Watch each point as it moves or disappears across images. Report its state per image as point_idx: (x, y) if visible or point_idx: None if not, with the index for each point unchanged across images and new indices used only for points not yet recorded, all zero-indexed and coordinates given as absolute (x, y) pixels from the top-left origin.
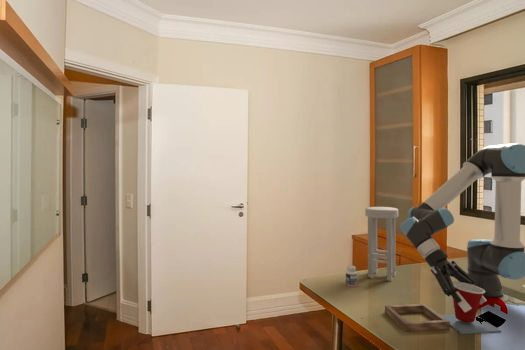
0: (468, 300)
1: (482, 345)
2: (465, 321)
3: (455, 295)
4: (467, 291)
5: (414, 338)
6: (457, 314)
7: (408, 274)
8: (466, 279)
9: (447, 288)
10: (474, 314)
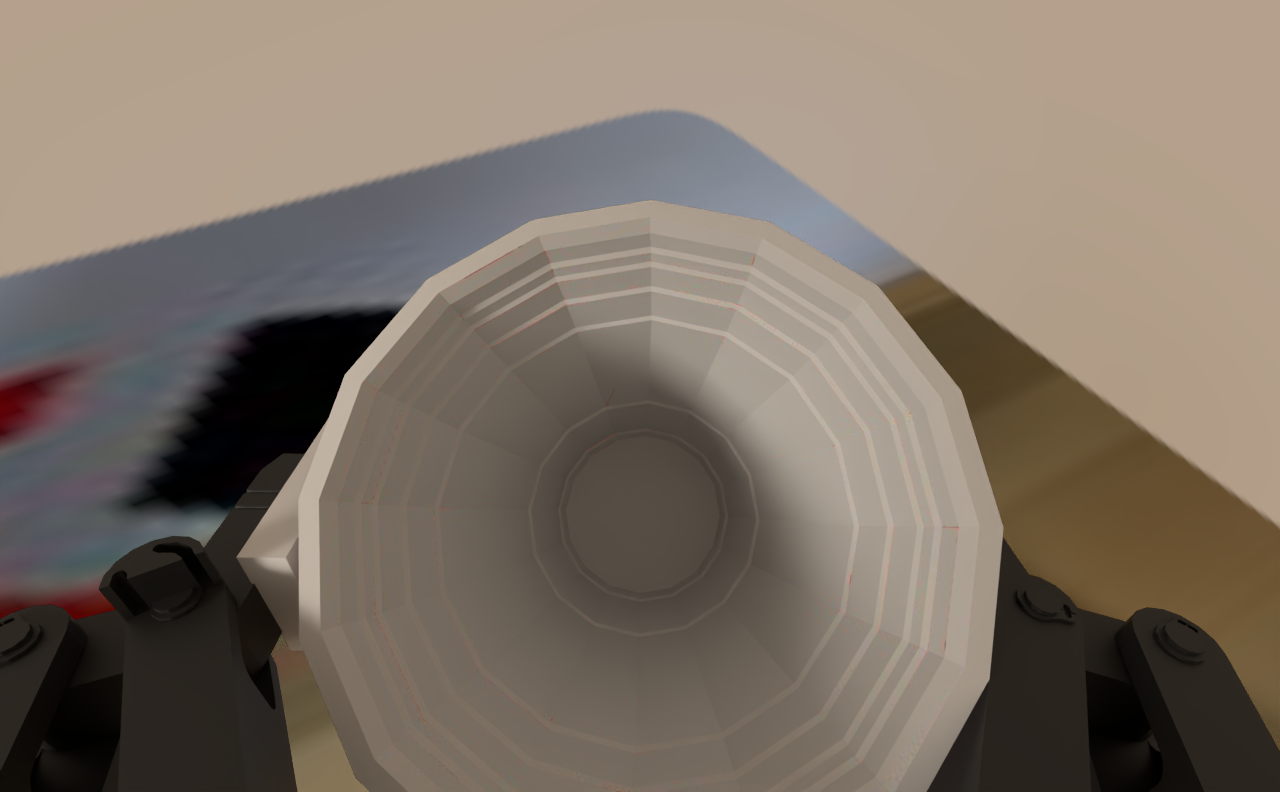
0: (804, 409)
1: (910, 259)
2: (711, 474)
3: (1006, 549)
4: (937, 375)
5: (1251, 636)
6: (736, 551)
7: None
8: (237, 722)
9: (1230, 704)
10: (659, 406)
